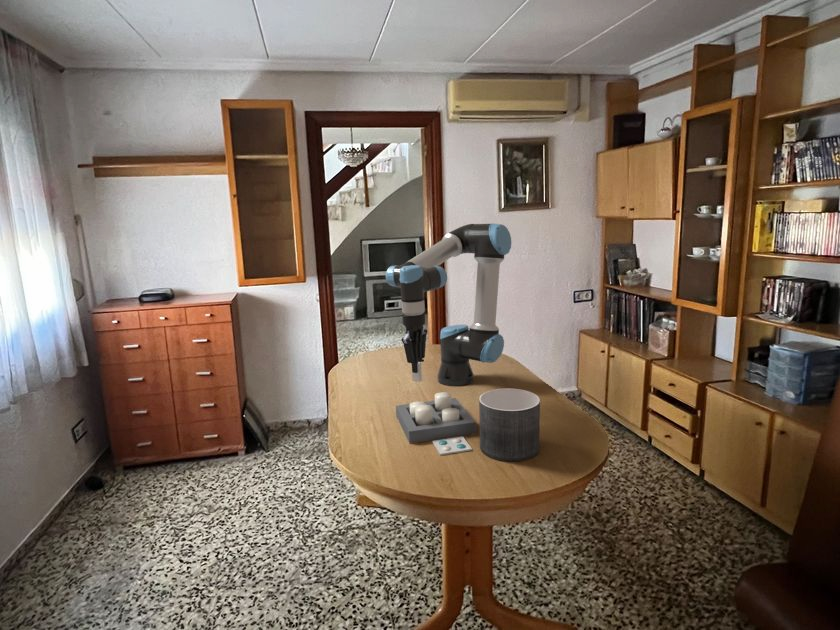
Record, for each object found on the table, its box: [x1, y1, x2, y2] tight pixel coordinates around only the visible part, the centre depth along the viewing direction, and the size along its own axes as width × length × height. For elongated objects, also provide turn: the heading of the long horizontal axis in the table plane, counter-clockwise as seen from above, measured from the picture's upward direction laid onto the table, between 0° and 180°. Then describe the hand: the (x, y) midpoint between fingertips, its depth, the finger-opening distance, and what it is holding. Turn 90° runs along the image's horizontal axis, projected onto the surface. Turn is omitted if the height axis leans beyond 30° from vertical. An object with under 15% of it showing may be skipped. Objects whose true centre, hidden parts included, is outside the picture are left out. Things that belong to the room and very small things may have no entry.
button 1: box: [409, 401, 426, 415], centre depth 178 cm, size 6×6×6 cm
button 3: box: [434, 391, 452, 412], centre depth 179 cm, size 6×6×6 cm
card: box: [431, 435, 473, 456], centre depth 159 cm, size 10×9×1 cm
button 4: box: [442, 408, 459, 423], centre depth 171 cm, size 6×6×6 cm
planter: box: [478, 387, 541, 462], centre depth 155 cm, size 18×18×16 cm
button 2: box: [415, 405, 433, 426], centre depth 169 cm, size 6×6×6 cm
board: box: [395, 397, 477, 444], centre depth 175 cm, size 22×22×4 cm
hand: (417, 380), depth 176 cm, fingers closed
